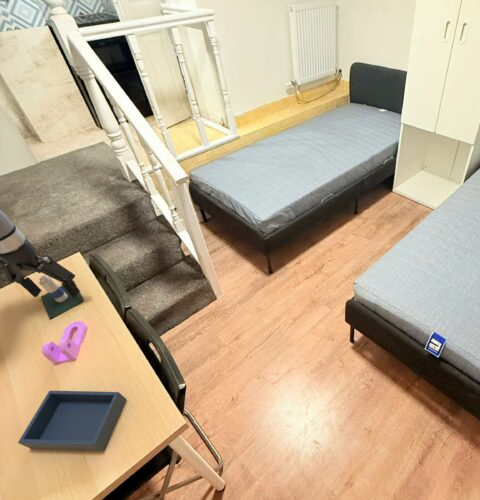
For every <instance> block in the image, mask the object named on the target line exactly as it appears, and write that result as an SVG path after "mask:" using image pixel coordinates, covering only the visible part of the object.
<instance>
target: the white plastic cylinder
mask: <svg viewBox="0 0 480 500" xmlns="http://www.w3.org/2000/svg"><path fill="white" fill-rule="evenodd" d="M38 283H39V285H40V286H41V287H42V288H43V289H44V290H45V291H46V292H47V293H49V294H50V295H51V296H52V297H53V298H54V299H55V300H56V301H57V302H63V301H65V300H66V299H67V297H68V296H67V294H66V293H65V292H64V291H63V290H62V289H61V288H60V285H59V284H57V282H56V281H55V279H54V278H51V277H49V276H47V275H41V276H40V277H39V282H38Z"/></svg>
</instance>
